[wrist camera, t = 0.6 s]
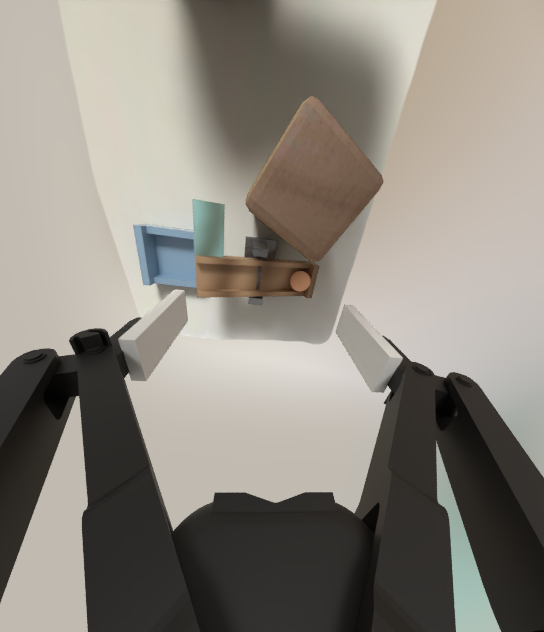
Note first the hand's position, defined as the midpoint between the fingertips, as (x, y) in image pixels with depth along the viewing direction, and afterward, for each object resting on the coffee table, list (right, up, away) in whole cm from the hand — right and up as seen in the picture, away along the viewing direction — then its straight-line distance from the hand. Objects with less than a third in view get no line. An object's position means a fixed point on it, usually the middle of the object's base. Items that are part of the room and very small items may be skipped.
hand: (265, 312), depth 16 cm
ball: (+6, +6, +18) cm, 20 cm away
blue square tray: (-18, +12, +23) cm, 31 cm away
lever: (-2, +10, +16) cm, 19 cm away
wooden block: (+4, +20, +20) cm, 28 cm away
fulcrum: (-2, +10, +24) cm, 26 cm away
